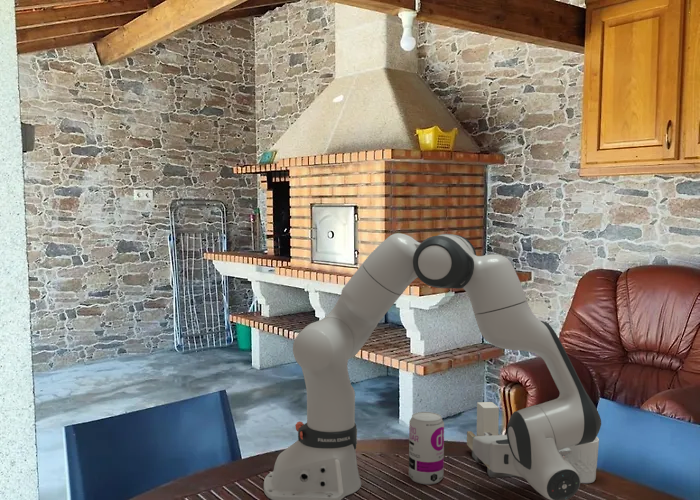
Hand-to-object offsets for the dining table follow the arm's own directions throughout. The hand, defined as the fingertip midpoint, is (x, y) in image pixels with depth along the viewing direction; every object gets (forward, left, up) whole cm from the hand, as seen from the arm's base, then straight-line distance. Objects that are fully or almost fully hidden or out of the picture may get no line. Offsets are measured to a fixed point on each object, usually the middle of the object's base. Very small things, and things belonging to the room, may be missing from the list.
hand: (505, 434), depth 150 cm
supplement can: (-19, +1, -10) cm, 22 cm away
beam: (0, +8, -10) cm, 13 cm away
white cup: (+18, -3, -10) cm, 21 cm away
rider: (0, +12, -6) cm, 13 cm away
